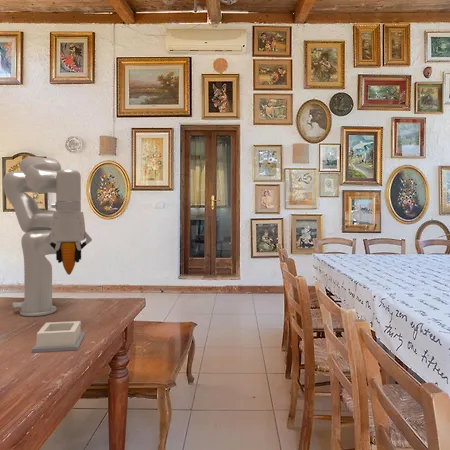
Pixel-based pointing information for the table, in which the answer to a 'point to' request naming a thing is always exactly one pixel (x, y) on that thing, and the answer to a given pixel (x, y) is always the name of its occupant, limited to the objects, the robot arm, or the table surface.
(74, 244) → the carrot
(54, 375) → the table surface
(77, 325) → the holder
